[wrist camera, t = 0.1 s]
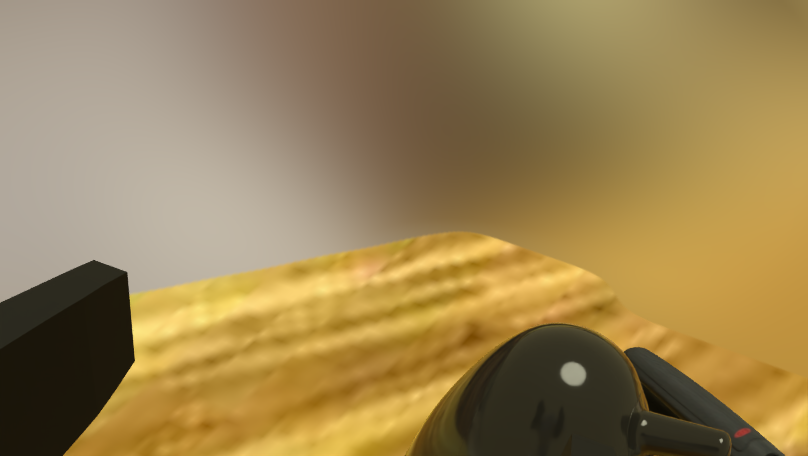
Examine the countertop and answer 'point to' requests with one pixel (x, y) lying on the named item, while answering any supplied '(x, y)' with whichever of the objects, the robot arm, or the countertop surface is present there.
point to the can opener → (694, 403)
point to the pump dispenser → (556, 403)
